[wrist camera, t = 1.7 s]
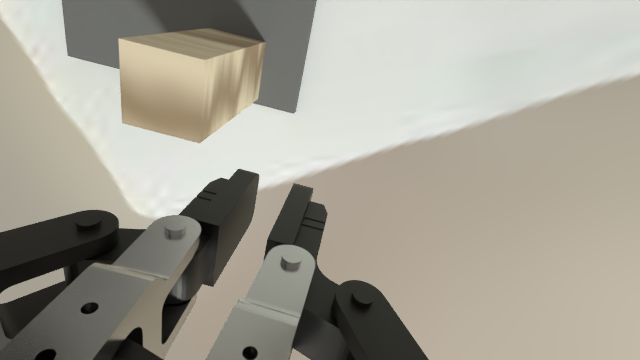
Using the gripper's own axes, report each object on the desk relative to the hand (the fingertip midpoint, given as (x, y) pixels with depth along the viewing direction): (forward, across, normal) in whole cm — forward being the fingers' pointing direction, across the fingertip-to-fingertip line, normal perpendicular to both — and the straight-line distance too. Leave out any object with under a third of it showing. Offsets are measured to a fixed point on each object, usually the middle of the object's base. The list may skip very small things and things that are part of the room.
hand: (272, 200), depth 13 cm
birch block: (+20, +9, 0) cm, 22 cm away
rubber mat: (+21, +14, -2) cm, 25 cm away
